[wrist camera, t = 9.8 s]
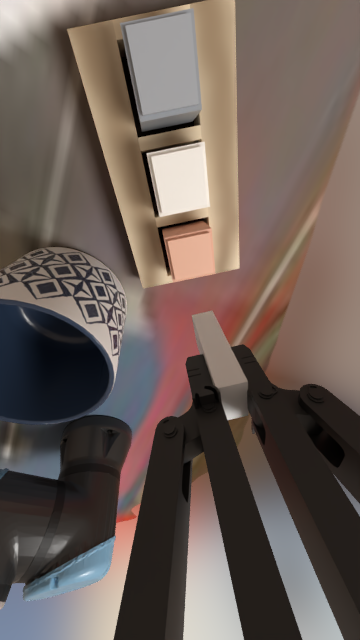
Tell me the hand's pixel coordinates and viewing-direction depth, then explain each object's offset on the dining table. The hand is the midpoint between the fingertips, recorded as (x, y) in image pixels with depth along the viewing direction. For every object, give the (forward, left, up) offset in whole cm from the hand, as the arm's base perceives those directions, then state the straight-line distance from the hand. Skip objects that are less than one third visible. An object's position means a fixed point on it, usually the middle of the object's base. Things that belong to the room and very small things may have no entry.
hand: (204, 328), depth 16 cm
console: (+1, +9, -17) cm, 19 cm away
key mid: (+1, +9, -15) cm, 17 cm away
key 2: (+1, +16, -15) cm, 22 cm away
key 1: (+1, +2, -15) cm, 15 cm away
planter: (-17, -3, -17) cm, 24 cm away
